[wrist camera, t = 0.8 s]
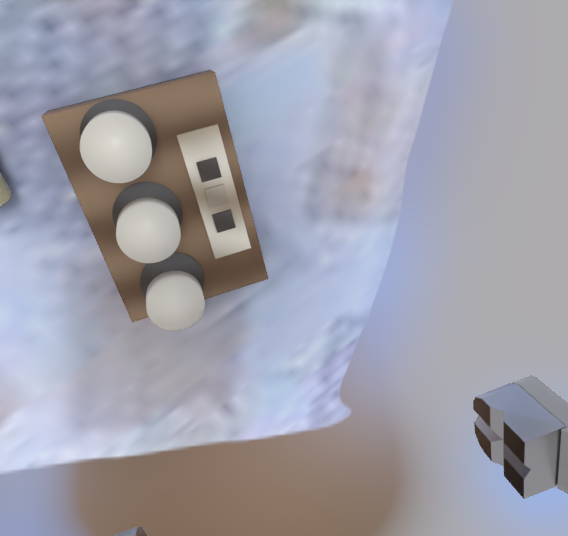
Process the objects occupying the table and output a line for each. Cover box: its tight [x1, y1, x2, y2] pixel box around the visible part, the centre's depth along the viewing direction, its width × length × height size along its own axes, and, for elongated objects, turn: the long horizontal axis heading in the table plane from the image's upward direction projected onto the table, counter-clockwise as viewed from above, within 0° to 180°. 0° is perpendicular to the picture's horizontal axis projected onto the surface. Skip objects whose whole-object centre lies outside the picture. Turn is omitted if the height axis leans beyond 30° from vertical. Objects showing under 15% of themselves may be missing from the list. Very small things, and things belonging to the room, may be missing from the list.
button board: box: [42, 70, 268, 322], centre depth 44 cm, size 20×14×4 cm
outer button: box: [146, 271, 205, 331], centre depth 43 cm, size 5×5×2 cm
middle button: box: [116, 197, 181, 263], centre depth 39 cm, size 5×5×2 cm
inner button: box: [80, 110, 152, 183], centre depth 36 cm, size 5×5×2 cm
